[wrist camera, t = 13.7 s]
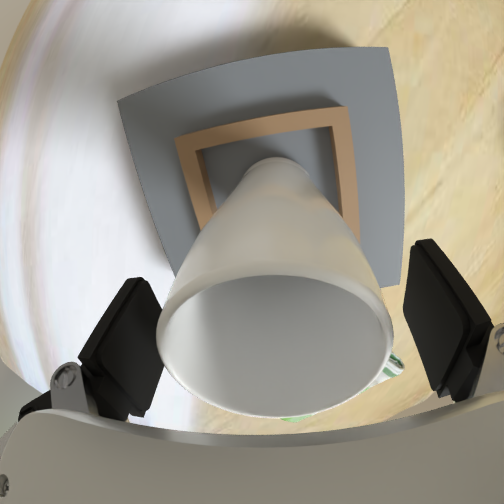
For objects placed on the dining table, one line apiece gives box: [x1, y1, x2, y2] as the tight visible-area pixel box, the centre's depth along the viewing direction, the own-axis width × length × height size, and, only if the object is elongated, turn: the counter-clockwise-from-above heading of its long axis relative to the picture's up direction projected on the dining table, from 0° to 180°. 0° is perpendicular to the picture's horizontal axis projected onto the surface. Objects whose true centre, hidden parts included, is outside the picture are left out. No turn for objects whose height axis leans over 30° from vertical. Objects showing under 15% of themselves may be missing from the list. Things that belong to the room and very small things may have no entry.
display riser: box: [117, 47, 405, 288], centre depth 22 cm, size 20×20×6 cm
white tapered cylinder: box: [156, 157, 394, 418], centre depth 14 cm, size 7×7×15 cm
